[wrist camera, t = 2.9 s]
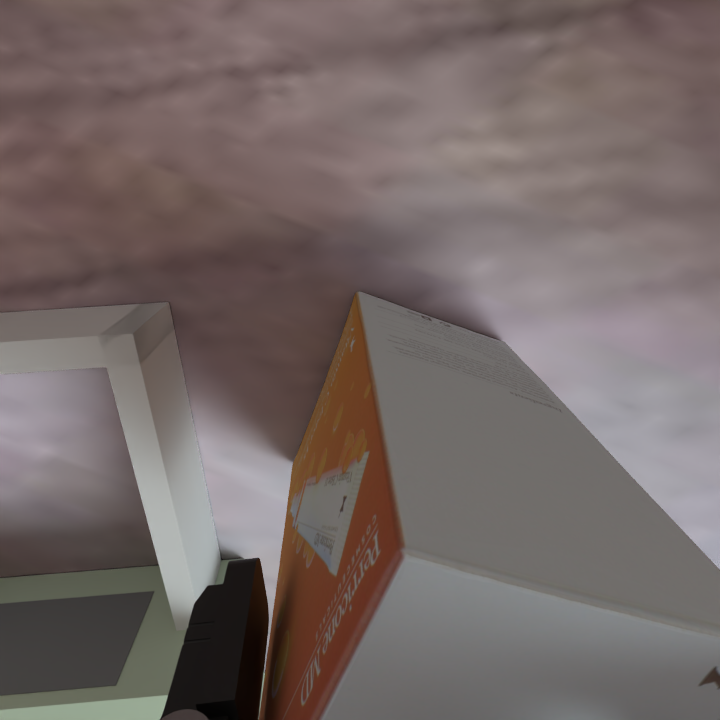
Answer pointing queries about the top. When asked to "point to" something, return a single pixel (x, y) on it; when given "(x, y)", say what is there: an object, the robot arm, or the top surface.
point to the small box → (476, 550)
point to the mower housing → (164, 516)
